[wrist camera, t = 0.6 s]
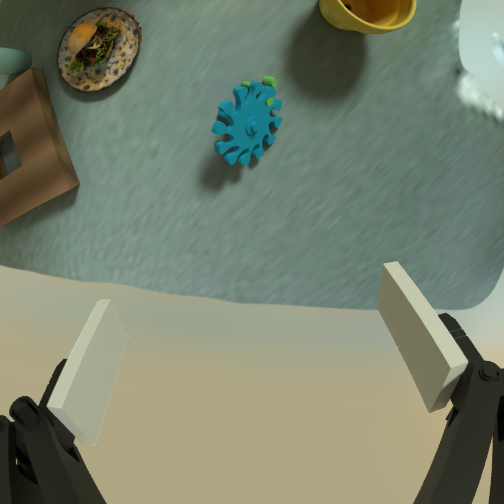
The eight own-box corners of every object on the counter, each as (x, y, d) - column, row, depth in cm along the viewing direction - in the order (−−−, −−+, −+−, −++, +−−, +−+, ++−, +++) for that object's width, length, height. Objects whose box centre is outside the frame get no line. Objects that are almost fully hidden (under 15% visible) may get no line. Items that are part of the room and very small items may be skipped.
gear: (256, 178, 38) (204, 151, 29) (224, 160, 41) (171, 134, 32) (301, 102, 35) (260, 58, 27) (266, 90, 38) (222, 51, 30)
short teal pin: (12, 59, 28) (-17, 57, 22) (29, 46, 28) (1, 41, 22) (16, 79, 30) (-13, 79, 23) (34, 66, 29) (5, 63, 23)
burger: (74, 107, 33) (45, 109, 27) (54, 35, 28) (26, 27, 22) (155, 69, 33) (138, 61, 26) (133, -5, 28) (114, -24, 21)
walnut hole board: (-34, 129, 31) (-45, 132, 28) (42, 68, 30) (30, 67, 27) (0, 226, 39) (-10, 233, 36) (79, 183, 38) (70, 189, 35)
